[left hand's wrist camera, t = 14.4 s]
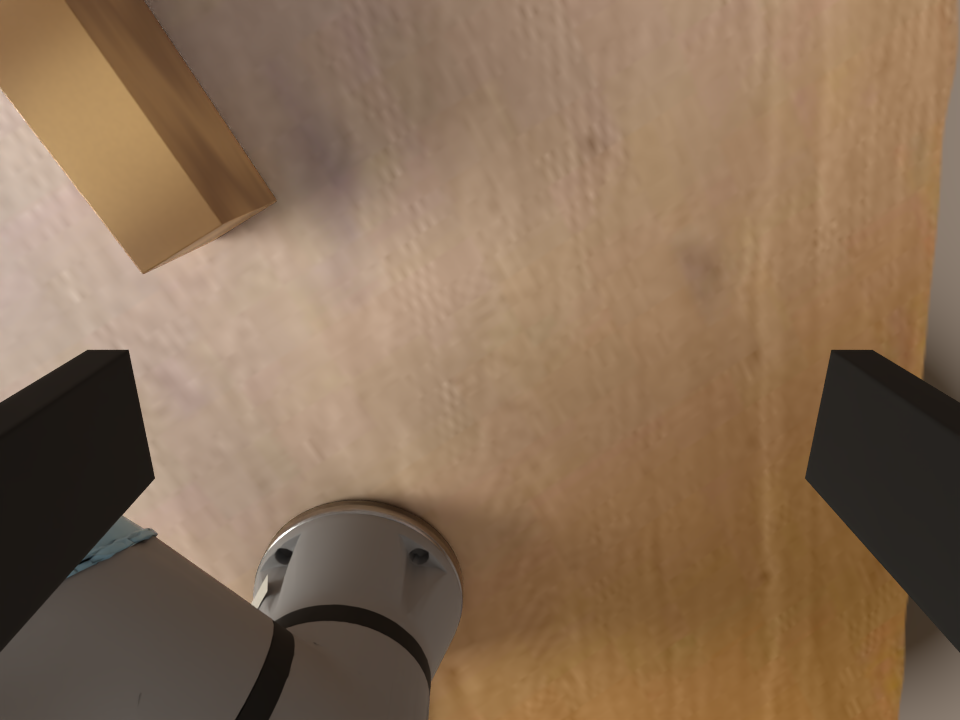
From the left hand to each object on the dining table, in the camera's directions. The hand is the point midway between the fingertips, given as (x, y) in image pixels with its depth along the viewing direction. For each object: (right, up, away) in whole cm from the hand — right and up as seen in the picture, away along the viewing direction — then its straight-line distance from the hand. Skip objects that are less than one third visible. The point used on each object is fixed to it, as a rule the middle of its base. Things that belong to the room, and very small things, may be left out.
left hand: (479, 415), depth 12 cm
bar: (-20, +19, +24) cm, 36 cm away
